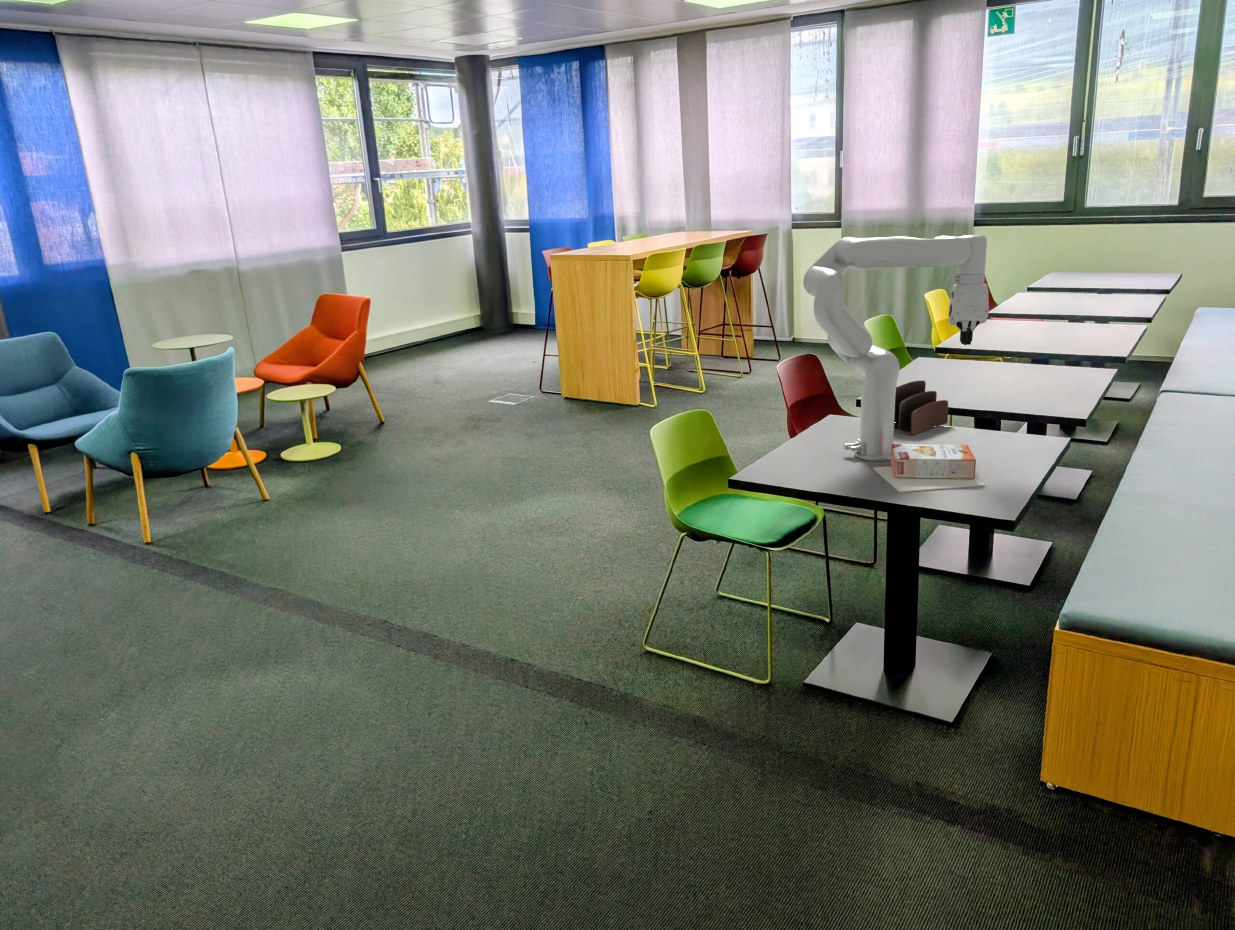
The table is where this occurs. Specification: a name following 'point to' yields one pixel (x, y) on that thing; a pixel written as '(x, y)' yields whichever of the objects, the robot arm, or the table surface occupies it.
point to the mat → (924, 482)
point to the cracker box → (932, 461)
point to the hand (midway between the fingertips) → (965, 344)
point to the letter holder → (918, 409)
